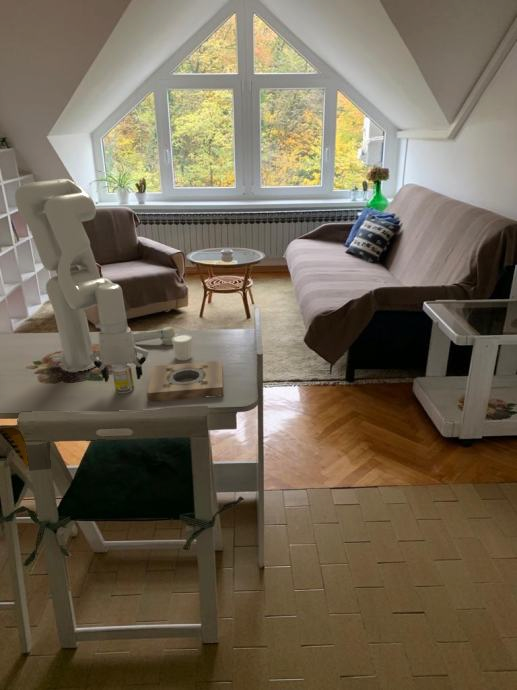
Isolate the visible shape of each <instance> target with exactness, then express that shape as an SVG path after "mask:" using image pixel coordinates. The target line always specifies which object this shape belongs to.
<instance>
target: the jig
mask: <svg viewBox="0 0 517 690" xmlns="http://www.w3.org/2000/svg"><path fill="white" fill-rule="evenodd" d="M223 376H224V374H223V361H222V360H215V361H213V360H212V361H203V362H202V361H201V362H189V363H186V362H185V363H177V364H176V363H175V364H163V365H153V366H152V369H151V374H150V378H149V382H148V386H147V390H146V391H147V392H146V396H147V403H153V402H155V403H156V402H164V401H165V402H166V401H167V402H169V401H179V400H189V399H190V400H191V399H200V398H199V397H206V396H218V397H220V396H219V395H223V396H224V377H223ZM190 379H192V380H191V381H183V380H190ZM182 381H183V382H182ZM206 398H207V397H206Z"/></svg>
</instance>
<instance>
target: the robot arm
mask: <svg viewBox="0 0 517 690" xmlns="http://www.w3.org/2000/svg"><path fill="white" fill-rule="evenodd" d="M14 201H15V204H16V207H17V211H18V213H19V214H20V217H21V218H22V220H23V221H24V223H25V224H26V225H27V228H28V229H29V231H30V233H31V236H32V238H33V242H34V244H35V245H34V246H35V247H36V251H37V254H38V257H39V259H40V262H41V264H42V266H43V268H44V269H45V270H46V271H48V272H49V271H50V272H55V271H56V272H57V275H55V276H53V277H51V278H49V279H48V280H47V281H46V283H45V291H46V294H47V297H48V299H49V302H50V304H51V307H52V311H53V313H54V318H55V321H56V322H55V323H56V326H57V331H58V336H59V340H60V345H61V349H62V352H61V353H60V354H58V353H57V354H56V353H55V354H51V357H50V358H51V361H53V363H60V368H61V370H62V369H63V370H62V371H64V370H65V371H64V372H66V371H68V372H67V373H79V372H78V371H82V372H85V371H84V370H86V371H88V369H89V370H91V368H92V369H93V368H96V367H97V368H98V369H99V370H100V371H101V377H102V379H103V380H104V382H105V383H108V381H109V379H110V375H109V370H108V366H113V365H120V364H130V365H131V364H133V365H135V374H136V379H137V380H140V379H141V376H143V366H142V365H143V364H144V363H145V362H146V360H147V357H148V356H149V350H148V349H145V348H142V347H141V346H137V345H136V342H135V341H134V338H133V334H132V333H133V331H132V330H131V328H130V327H129V326H128V319H127V313H126V307H125V301H124V295H123V289H122V287H121V285H119V284H118V283H114V282H113V281H112V280H110V279H109V278H107V277H101V275H100V271H99V269H98V265H97V262H96V259H95V255H94V253H93V250H92V247H91V242H90V238H89V237H88V234H87V231H86V229H85V227H84V225H83V222H88V221H92V220H94V218H95V217H96V213H97V209H96V205H95V203H94V201H93V199H92V197H91V196H90V194H88V193H87V191H85V190H84V189H83V188H82V187H80V186H79V185H78V184H76V183H75V182H74V181H73V180H70V179H68V178H58V179H57V178H56V179H50V180H49V179H48V180H41V181H33V182H28V183H25V184H22V185H20V186H19V187H17V189H16V190H15V194H14ZM73 267H77V268H78V269H77V270H73V271H71V268H73ZM96 306H97V312H98V313H97V314H98V319H99V322H98V323H95V328H96V329H98V330H100V331H99V332H98V345H99V346H98V347H99V348H98V350H96V351H95V352H94V349H93V345H92V340H91V334H90V328H89V322H88V317H87V315H86V312H85V311H84V310H87V309H90V308H94V307H96ZM138 354H141V355H142V356H141V357H140V358H139V356H138Z"/></svg>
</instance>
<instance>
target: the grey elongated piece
mask: <svg viewBox="0 0 517 690" xmlns="http://www.w3.org/2000/svg"><path fill="white" fill-rule="evenodd" d="M132 334H133V338H134V341H135V343H139V342H144V341H145V342H146V341H150V340H151V341H152V340H156V339H160V340H161V341H162V344H163V345H164V344H165V345H167V346H173V343H172V338H173V337H175V336H177V335H179V333H178V332H176V331H175V329H174V328H173V326H165V327H163V328H162V329H154V330H145V331H135V332H132ZM165 345H164V346H165Z"/></svg>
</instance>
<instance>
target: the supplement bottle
mask: <svg viewBox="0 0 517 690" xmlns="http://www.w3.org/2000/svg"><path fill="white" fill-rule="evenodd" d="M111 372H112V377H113V382H114V389H115V392H116V393H118V394H128V393H130V392H133V390H134V389H135V384H134V378H133V373H132V367H131V364H120V365H111Z"/></svg>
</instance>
